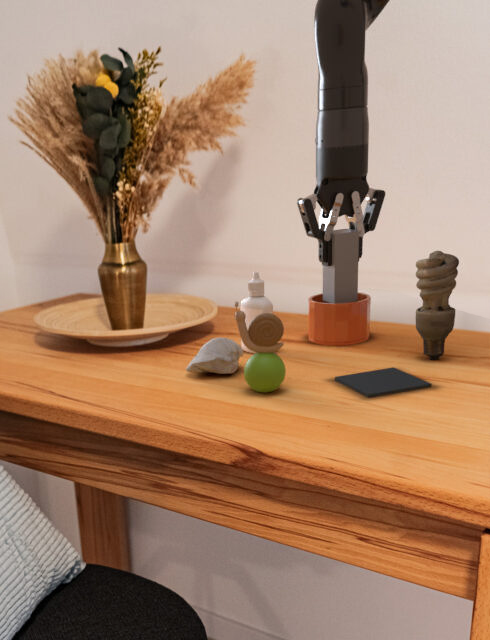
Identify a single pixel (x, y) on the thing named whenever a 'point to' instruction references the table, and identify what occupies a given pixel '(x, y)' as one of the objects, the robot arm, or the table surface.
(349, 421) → the table surface
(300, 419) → the table surface
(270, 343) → the snail figurine
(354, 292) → the block
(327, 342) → the cup
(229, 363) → the pebble
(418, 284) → the light bulb
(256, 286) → the eye dropper bottle
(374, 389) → the mat
